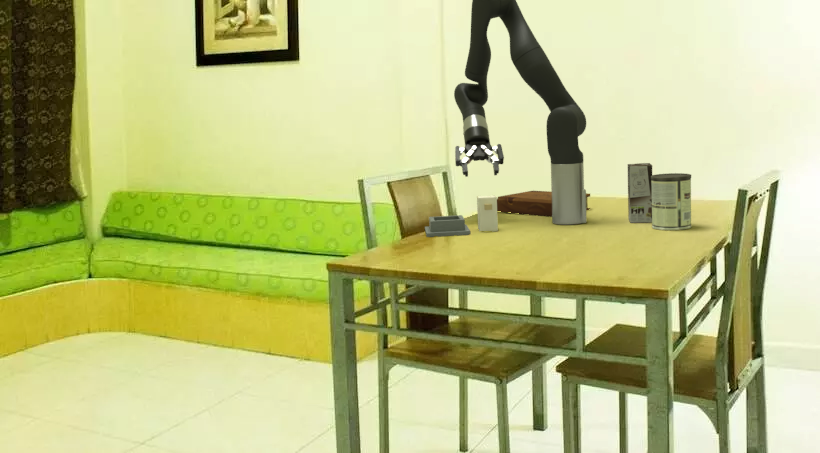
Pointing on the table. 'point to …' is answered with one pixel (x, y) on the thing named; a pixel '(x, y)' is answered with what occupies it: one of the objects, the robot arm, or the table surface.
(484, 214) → the cream block
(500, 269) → the table surface
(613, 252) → the table surface
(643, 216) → the coffee box
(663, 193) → the coffee can
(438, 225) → the grey stepped pedestal
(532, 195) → the diary
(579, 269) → the table surface
